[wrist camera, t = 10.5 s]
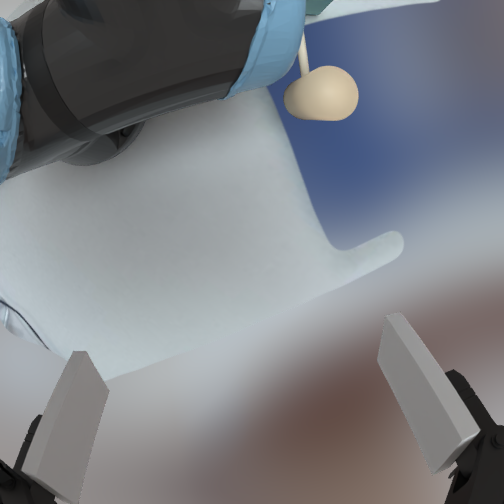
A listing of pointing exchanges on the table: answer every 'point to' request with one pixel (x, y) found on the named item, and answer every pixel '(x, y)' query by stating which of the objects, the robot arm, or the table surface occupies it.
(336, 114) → the toy hammer
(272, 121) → the table surface
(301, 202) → the table surface
